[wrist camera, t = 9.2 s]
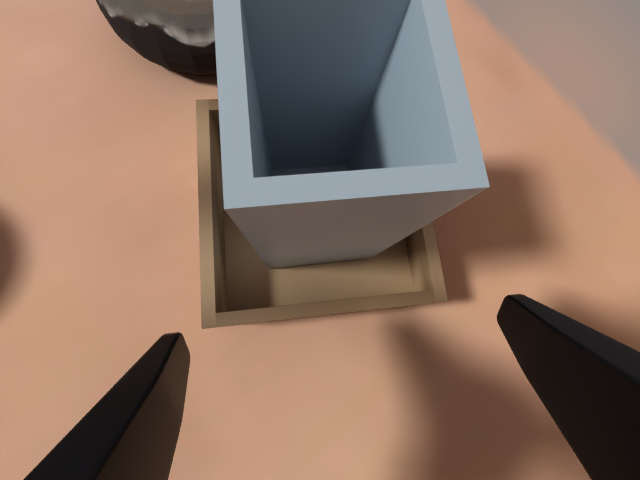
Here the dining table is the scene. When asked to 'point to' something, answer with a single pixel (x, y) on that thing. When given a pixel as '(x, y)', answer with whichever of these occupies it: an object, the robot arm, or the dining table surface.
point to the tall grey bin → (341, 124)
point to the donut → (167, 31)
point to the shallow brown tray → (302, 281)
